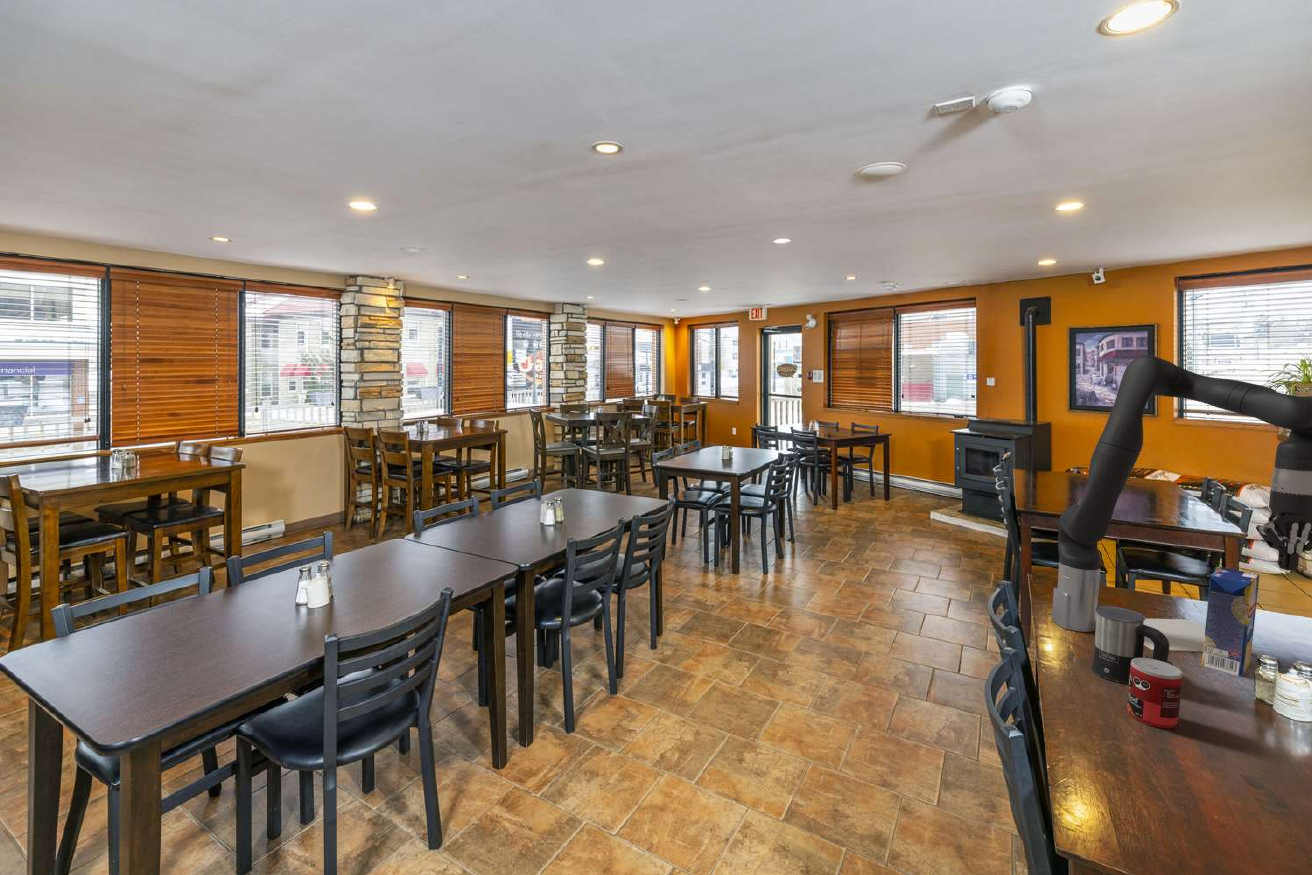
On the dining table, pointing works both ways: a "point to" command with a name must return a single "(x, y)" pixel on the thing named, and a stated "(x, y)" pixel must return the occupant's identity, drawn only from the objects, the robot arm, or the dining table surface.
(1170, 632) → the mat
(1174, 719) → the canned food
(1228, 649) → the beverage box
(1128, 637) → the milk frother
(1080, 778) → the dining table surface
